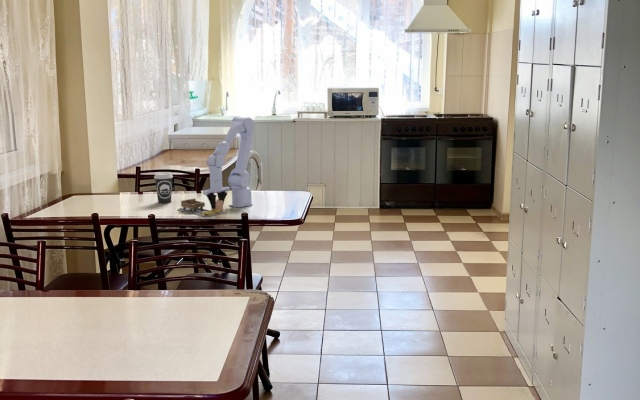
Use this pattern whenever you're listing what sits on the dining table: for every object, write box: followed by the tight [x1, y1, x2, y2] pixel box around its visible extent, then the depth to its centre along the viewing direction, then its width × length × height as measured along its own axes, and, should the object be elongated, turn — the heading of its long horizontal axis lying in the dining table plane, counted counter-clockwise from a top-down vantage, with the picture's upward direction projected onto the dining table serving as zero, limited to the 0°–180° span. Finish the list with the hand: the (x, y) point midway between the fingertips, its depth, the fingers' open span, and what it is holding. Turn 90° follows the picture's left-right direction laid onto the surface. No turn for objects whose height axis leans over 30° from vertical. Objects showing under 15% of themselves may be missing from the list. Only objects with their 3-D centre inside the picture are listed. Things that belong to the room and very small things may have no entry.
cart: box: [180, 197, 206, 211], centre depth 328 cm, size 8×8×4 cm
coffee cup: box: [153, 171, 174, 204], centre depth 349 cm, size 10×10×15 cm
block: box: [210, 198, 224, 212], centre depth 328 cm, size 4×4×5 cm
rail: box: [177, 207, 223, 218], centre depth 325 cm, size 9×23×2 cm, turn 46°
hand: (217, 207), depth 328 cm, fingers closed on block, 4 cm apart
